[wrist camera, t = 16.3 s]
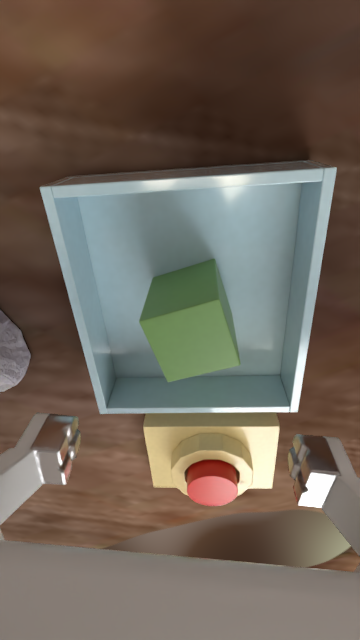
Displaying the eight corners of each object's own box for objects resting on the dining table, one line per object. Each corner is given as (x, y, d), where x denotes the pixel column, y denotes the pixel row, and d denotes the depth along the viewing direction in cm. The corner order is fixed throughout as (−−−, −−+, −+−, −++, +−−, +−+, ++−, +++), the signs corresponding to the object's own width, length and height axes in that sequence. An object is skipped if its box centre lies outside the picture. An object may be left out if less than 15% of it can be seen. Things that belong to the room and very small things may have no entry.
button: (188, 487, 31) (188, 505, 29) (186, 457, 29) (185, 475, 27) (235, 488, 31) (237, 506, 29) (236, 457, 28) (238, 476, 27)
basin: (112, 376, 28) (100, 414, 25) (68, 176, 20) (39, 186, 17) (284, 373, 27) (297, 412, 24) (310, 159, 19) (337, 167, 15)
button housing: (155, 472, 35) (151, 504, 32) (145, 412, 30) (139, 443, 27) (269, 473, 34) (275, 506, 31) (276, 411, 30) (284, 443, 27)
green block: (174, 329, 25) (167, 383, 20) (152, 277, 23) (138, 321, 17) (232, 313, 24) (241, 365, 19) (214, 257, 22) (219, 298, 16)
